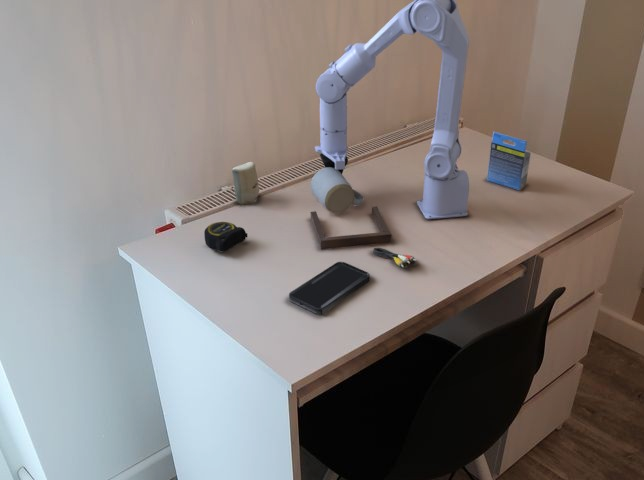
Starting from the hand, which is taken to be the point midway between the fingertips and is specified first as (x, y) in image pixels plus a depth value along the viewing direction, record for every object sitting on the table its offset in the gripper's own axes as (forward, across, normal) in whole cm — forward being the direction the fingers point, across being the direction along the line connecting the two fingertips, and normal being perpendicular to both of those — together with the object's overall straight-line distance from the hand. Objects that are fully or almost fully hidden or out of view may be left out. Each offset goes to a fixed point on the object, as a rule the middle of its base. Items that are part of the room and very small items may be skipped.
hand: (334, 186), depth 161 cm
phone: (+2, +38, -8) cm, 38 cm away
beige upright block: (+2, 0, -19) cm, 19 cm away
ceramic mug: (+2, +6, 0) cm, 6 cm away
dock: (+2, +16, 0) cm, 17 cm away
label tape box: (+2, +1, +41) cm, 41 cm away
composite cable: (+2, +30, +6) cm, 30 cm away
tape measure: (+2, +19, -25) cm, 31 cm away
